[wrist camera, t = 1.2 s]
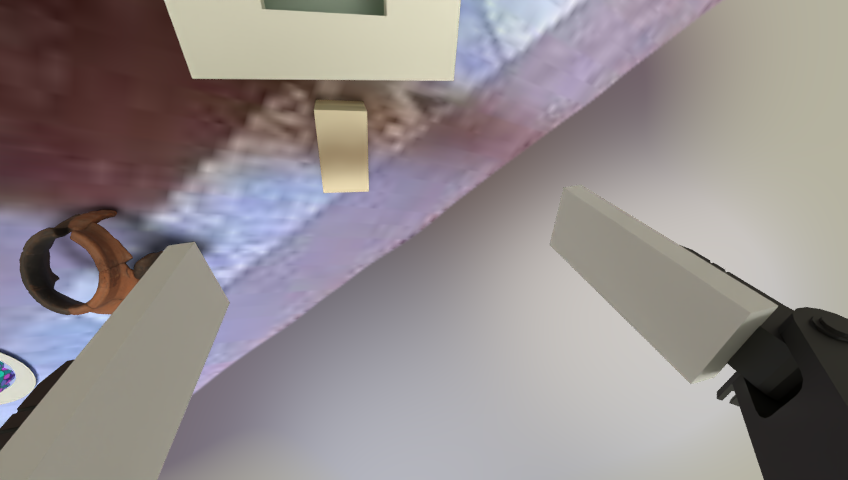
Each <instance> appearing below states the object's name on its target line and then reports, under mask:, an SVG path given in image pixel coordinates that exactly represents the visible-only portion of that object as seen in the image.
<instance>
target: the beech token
mask: <svg viewBox="0 0 848 480" xmlns="http://www.w3.org/2000/svg"><path fill="white" fill-rule="evenodd" d="M314 115H315V123H316V132H317V141H318V149H319V158H320V166H321V175H322V184H323V192H324V193H336V192H367V191H369V179H368V135H367V110H366V108H365V105H364V103H363V101H341V100H316V102H315V107H314Z"/></svg>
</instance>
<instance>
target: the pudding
mask: <svg viewBox="0 0 848 480" xmlns="http://www.w3.org/2000/svg"><path fill="white" fill-rule="evenodd" d="M1 361H2V362H4V363H6V364H7V365H9V366H10V367H11V368H12V369H13V370H14V371H15V374H16V380H15V382H14V383H13V384H12V385H11V386H10V387H8V386H9V385H10V384H9V382H10V381H11V380H13V379H14V377H15V374H14V373H13V371H11V370H8V369H6V368H4V363H2V362H1ZM35 385H36V378H35V376H34V374H33V373H32V371H31V370H30V369H29V368H28V367H27V366H25V365H24V364H23V363H21V362H19V361H18V360H16V359H14V358H12V357H10V356H7V355H5V354H2V353H0V405H1V404H6V403H9V402H13V401H16V400H18V399H21V398H23V397H25V396H26V395H28V394H29V393H30V392H31V391H32V390H33V389H34V387H35ZM7 387H8V388H7Z"/></svg>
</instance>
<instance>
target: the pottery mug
mask: <svg viewBox="0 0 848 480" xmlns="http://www.w3.org/2000/svg"><path fill="white" fill-rule="evenodd" d="M116 215H117V212H116V211H113V210H99V211H91V212H89V213H84V214H81V215H80V214H78V215H74V216H72V217H71V218H69V219H67V220H65V221H63V222H62V223H60V224H58V225H57V226H56V227H54V228H46V229H44V230H41V231H39V232H38V233H37V234H35V235H33V236H32V237H31V238H30V239H29V240H28V241H27V242H26V244H25V246H24V248H23V252H22V253H21V257H20V259H19V260H20V273H21V278H22V281H23V283H24V285H25V287H26V289H27V290H28V291H29V293H30V294H31V296H32V297H33V298H34V299H35V300H36V301H37V302H38V303H40V304H41V305H42V306H43V307H45V308H47V309H49V310H51V311H54V312H56V313H60V314H65V315H71V314H73V315H79V314H85V313H88V312H94V313H97V314H112V313H113V312H114V311H115V310H116V309H117V307H118V306H119V305H120V304H121V302H122V301H123V300H124V299H125V298H126V296H127V295H128V294H129V293H130V291H131V290H132V289H133V288H134V287H135V285H136V284H137V283H138V282H139V280H140V279H141V278H142V277H143V276H144V274H145V273H146V272H147V271H148V269H149V268H150V267H151V266H152V264H153V263H154V262H155V261H156V260H157V258H158V257H159V256H160V255H161V253H162V252H163V251H160V252H157V253H150V254H148V255H146V256H145V257H143V258H141V259H140V260H138V261H137V262H136V263H135V265H134V270H132V269H130V268H129V267H128V265H127V264H126V262H127V261H129V260H131V259H132V258H133V257H132V255H131V254H130V253H129V252H128V251H127V250H126V249H125V248H124V247H123V245H122V244H121V243H120V242H119V241H118V240H117V239H115V238H114V237H113V236H112V235H111V234H110V233H109V232H108V231H107V230H106V229H104V228H103V227H102V226H100V225H98V224H97V223H98V222H100V221H101V220H103V219H106V218H109V217H114V216H116ZM70 232H72V233H71V236H70V239H71V240H73V241H75V242H76V243H78V244H79V245H81V246H82V247H83V248H85V249H86V250H87V251H88V253H89V254H90V255H91V257H92V258H93V260H94V262H95V264H96V267H97V268H98V271H99V283H98V288H97V291H96V293H95V295H94V296H93V298H92V299H91V300H90V301H88V302H87V303H82V302H79V301H76V300H74V299H71V298H69V297H67V296H65V295H63V294H61V293H59V292H57V291H56V290H55V289H54V285H55V282H56V281H57V280H59V277H58V276H57V275H55V274H54V273H53V272H52V270H51V268H50V252H49V249H50V248H51V247H52V245H53V243H54V241H55V239H56V238H59V237H62V236H65V235H67V234H69V233H70Z"/></svg>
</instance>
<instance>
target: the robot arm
mask: <svg viewBox="0 0 848 480" xmlns="http://www.w3.org/2000/svg"><path fill="white" fill-rule="evenodd" d="M550 246H551V247H552V248H553V249H554V250H555V251H556V252H558V253H559V254H560V256H562V257H563V258H564V259H565V260H566V261H567V262H568V263H569V264H570V265H571V266H572V267H573V268H574V269H575V270H576V271H577V272H578V273H579V274H580V275H581V276H582V277H583V278H584V279H585V280H586V281H587V282H588V283H589V284H590V285H591V286H592V287H593V288H594V289H595V290H596V291H597V292H598V293H599V294H600V295H601V296H602V297H603V298H604V299H605V300H606V301H607V302H608V303H609V304H610V305H611V306H612V307H613V308H614V309H615V310H616V311H617V312H618V313H619V314H620V315H621V316H622V317H623V318H624V319H626V321H627V322H629V324H630V325H631V326H633V327H634V328H635V329H636V330H637V331H638V332H639V333H640V334H641V335H642V336H643V337H644V338H645V339H646V340H647V341H648V342H649V343H650V344H651V345H652V346H653V347H654V348H655V349H656V350H657V351H658V352H659V353H660V354H661V355H662V356H663V357H664V358H665V359H666V360H667V361H668V362H669V363H670V364H671V365H672V366H673V367H674V368H675V369H676V370H677V371H678V372H679V373H680V374H681V375H682V376H683V377H684V378H685V379H686V380H687V381H688V382H689V383H690V384H693V383H697V382H700V381H704V380H707V379H710V378H714V377H715V376H716V375H717V374H718V373H719V372H720V371H721V369H722V368H723V367H724V366H725V365H726V364H727V363H728V364H729V365H730V366H731V367H732V368H733V369H735V370H736V372H735V373H734V375H733V376H732V377H731V378H730V379H729V380H728V381H727V382H726V383H725V384H724V385H723V386H722V387H721V388H720V389H719V390H718V391H717V399H719V400H723V399H724V398H725V397H726V396H727V395H728V394H729V393H730V392H731V391H735V394H736V395H735V396H734V397H733V398H732V399H731V400H730V403H731V404H734V405H737V406H740V409H741V412H742V415H743V418H744V421H745V424H746V427H747V430H748V433H749V436H750V439H751V442H752V445H753V448H754V451H755V454H756V457H757V460H758V463H759V466H760V469H761V472H762V475H763V478H764V480H848V319H846V318H844V317H842V316H840V315H837V314H835V313H831V312H828V311H824V310H821V309H816V308H808V307H804V308H797V309H796V310H795V311H794V310H792V309H790V308H788V307H786V306H784V305H783V304H781V303H779V302H778V301H776V300H775V299H773V298H771V297H769V296H768V295H766V294H765V293H763V292H761V291H760V290H758V289H756V288H755V287H753V286H751V285H750V284H748V283H746V282H744V281H743V280H741V279H740V278H738V277H736V276H735V275H733V274H731V273H730V272H725V270H724V269H723V268H721V267H720V266H718V265H717V264H714V263H710V260H708V259H707V258H705V257H703V256H701V255H700V254H698V253H696V252H695V251H693V250H691V249H689V248H686V247H683V246H681V245H678V244H677V243H675V242H673V241H672V240H670V239H669V238H667V237H665V236H664V235H662V234H660V233H659V232H657V231H655V230H654V229H652V228H650V227H649V226H647V225H646V224H644V223H642V222H641V221H639V220H637V219H636V218H634V217H633V216H631V215H629V214H628V213H626V212H624V211H623V210H621V209H619V208H618V207H616V206H615V205H613V204H611V203H609V202H608V201H606V200H605V199H603V198H601V197H600V196H598V195H596V194H595V193H593V192H592V191H590V190H588V189H587V188H585V187H583V186H582V185H577V186H570V187H564V188H563V192H562V196H561V200H560V204H559V208H558V212H557V216H556V221H555V225H554V229H553V233H552V237H551V241H550ZM229 303H230V302H229V301H228V299H227V297H226V295H225V294H224V292H223V290H222V289H221V287H220V285H219V283H218V282H217V280H216V278H215V276H214V275H213V273H212V271H211V269H210V268H209V266H208V264H207V262H206V261H205V259H204V257H203V255H202V254H201V252H200V250H199V248H198V247H197V245H196V243H195V242H190V243H183V244H176V245H169V246H167V247H166V249H165V250H164V251H163V252H162V253H161V255H160V256H159V257H158V258H157V260H156V261H155V262H154V263H153V264H152V266H151V267H150V268H149V269H148V271H147V272H146V273H145V274H144V276H143V277H142V278H141V279H140V280H139V282H138V283H137V284H136V285H135V287H134V288H133V289H132V290H131V291H130V293H129V294H128V295H127V296H126V298H125V299H124V300H123V301H122V302H121V304H120V305H119V306H118V307H117V309H116V310H115V311H114V312H113V313H112V315H111V316H110V317H109V318H108V320H107V321H106V322H105V323H104V324H103V326H102V327H101V328H100V329H99V331H98V332H97V333H96V334H95V335H94V337H93V338H92V339H91V340H90V342H89V343H88V344H87V345H86V347H85V348H84V349H83V350H82V351H81V353H80V354H79V355H78V356H77V358H76V359H75V360H70V361H67V362H65V363H64V364H63V365H62V366H60V367H59V368H58V369H57V370H55V371H54V372H53V373H52V374H50V375H49V376H48V377H47V378H45V379H44V380H43V381H42V382H40V383H39V384H38V385H37V386H36V388H35V389H34V390H33V391H32V392H31V393H30V395H29V396H28V397H27V398H26V399H25V400H24V402H23V403H22V404H21V405H20V406H19V407H18V408H17V410H18V412H17V413H16V414H12V415H11V417H10V418H9V419H8V420H7V421H6V422H5V424H4V425H3V426H2V427H1V428H0V480H157V479H158V477H159V474H160V471H161V469H162V467H163V464H164V462H165V460H166V457H167V455H168V452H169V450H170V447H171V445H172V442H173V440H174V437H175V435H176V433H177V430H178V428H179V425H180V423H181V420H182V418H183V416H184V413H185V411H186V408H187V406H188V403H189V401H190V398H191V396H192V394H193V391H194V389H195V386H196V384H197V381H198V379H199V376H200V374H201V372H202V369H203V367H204V364H205V362H206V359H207V357H208V354H209V352H210V350H211V347H212V345H213V342H214V340H215V337H216V335H217V333H218V330H219V328H220V325H221V323H222V320H223V318H224V315H225V313H226V311H227V308H228V306H229Z"/></svg>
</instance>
